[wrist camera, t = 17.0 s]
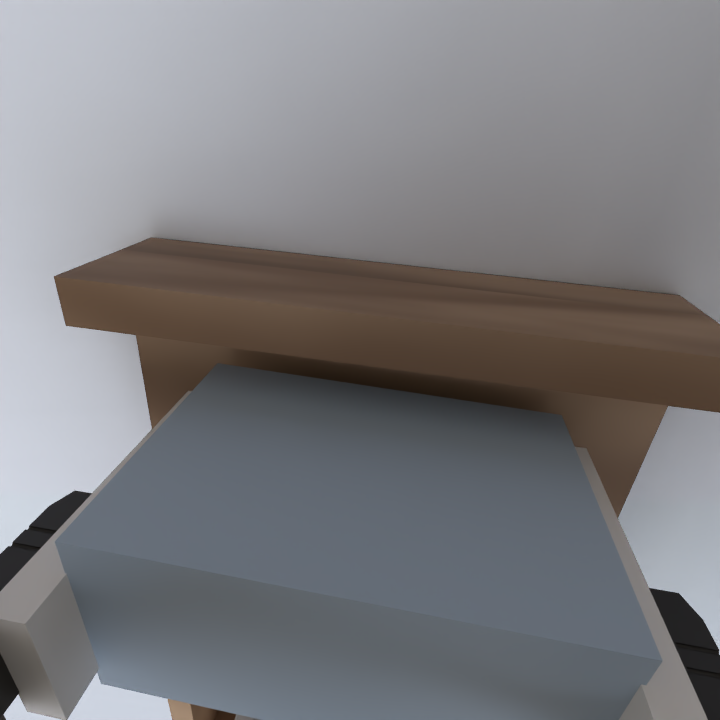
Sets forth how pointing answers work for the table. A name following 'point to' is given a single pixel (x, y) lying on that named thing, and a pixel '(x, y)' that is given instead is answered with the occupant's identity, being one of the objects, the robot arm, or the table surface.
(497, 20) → the table surface
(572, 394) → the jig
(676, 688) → the robot arm
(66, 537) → the blue-grey rectangular block
